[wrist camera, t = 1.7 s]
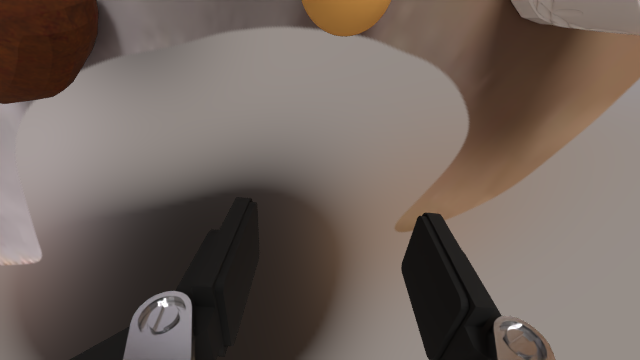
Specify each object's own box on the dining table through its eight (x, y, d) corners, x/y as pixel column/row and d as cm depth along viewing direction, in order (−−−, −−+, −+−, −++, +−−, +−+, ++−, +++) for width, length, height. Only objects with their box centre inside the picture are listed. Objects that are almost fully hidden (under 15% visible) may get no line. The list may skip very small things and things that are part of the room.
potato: (144, 27, 21) (55, 30, 14) (74, 116, 25) (-24, 152, 18) (44, -77, 18) (-132, -137, 11) (-18, 43, 22) (-177, 53, 15)
